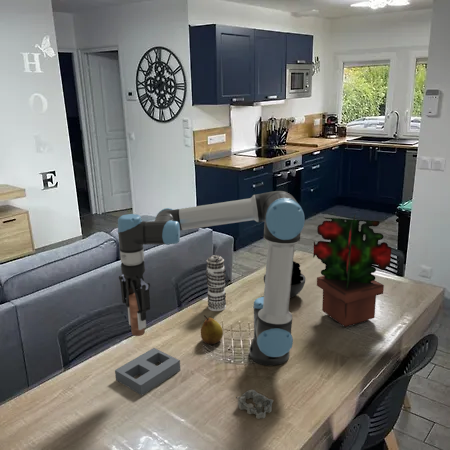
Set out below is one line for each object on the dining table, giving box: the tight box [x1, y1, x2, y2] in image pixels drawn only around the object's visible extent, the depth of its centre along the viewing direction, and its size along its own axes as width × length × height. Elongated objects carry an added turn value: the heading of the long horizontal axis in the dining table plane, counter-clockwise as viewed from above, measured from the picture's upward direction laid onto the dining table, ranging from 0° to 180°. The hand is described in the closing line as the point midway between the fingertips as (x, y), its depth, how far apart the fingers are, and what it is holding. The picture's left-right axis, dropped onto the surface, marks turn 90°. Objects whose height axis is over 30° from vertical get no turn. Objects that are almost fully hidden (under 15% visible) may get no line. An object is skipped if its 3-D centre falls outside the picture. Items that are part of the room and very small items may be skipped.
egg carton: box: [235, 389, 274, 420], centre depth 144 cm, size 11×8×4 cm
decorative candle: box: [205, 254, 227, 312], centre depth 209 cm, size 9×9×25 cm
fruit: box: [200, 315, 224, 346], centre depth 183 cm, size 9×9×12 cm
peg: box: [129, 293, 146, 337], centre depth 154 cm, size 4×4×14 cm
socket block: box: [114, 347, 181, 396], centre depth 163 cm, size 14×18×4 cm
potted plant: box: [312, 214, 392, 328], centre depth 193 cm, size 22×22×45 cm
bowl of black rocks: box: [263, 260, 306, 298], centre depth 219 cm, size 20×20×19 cm
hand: (137, 325), depth 155 cm, fingers closed on peg, 4 cm apart
